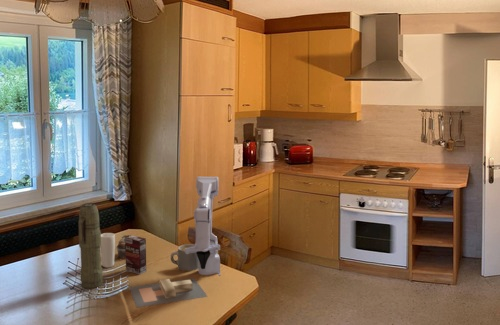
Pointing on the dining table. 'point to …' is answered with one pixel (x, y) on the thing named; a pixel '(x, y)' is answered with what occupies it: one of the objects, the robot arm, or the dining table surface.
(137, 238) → the supplement box
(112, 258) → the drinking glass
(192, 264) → the coffee mug
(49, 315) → the dining table surface
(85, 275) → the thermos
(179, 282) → the t block
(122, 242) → the cupcake
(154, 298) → the board
